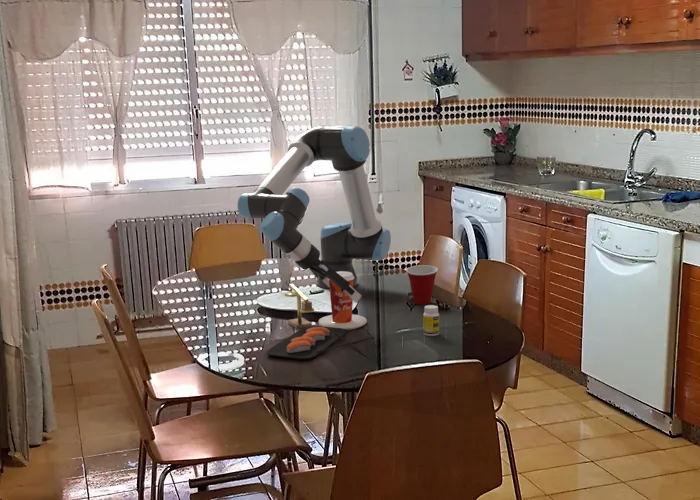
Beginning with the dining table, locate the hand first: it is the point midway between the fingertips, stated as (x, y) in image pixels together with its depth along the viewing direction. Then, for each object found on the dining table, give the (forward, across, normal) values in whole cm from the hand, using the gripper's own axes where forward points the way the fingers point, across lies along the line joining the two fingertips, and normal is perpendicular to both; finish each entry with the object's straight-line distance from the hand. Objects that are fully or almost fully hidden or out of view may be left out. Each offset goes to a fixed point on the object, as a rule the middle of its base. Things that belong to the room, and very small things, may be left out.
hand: (348, 294), depth 250 cm
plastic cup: (+30, -9, +16) cm, 35 cm away
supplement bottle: (+18, +23, +4) cm, 29 cm away
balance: (-4, -6, -17) cm, 18 cm away
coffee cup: (+4, 0, -8) cm, 9 cm away
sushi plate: (-4, +19, -18) cm, 27 cm away
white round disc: (+5, 0, -8) cm, 10 cm away
